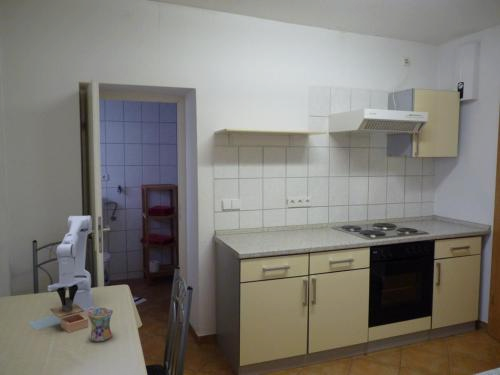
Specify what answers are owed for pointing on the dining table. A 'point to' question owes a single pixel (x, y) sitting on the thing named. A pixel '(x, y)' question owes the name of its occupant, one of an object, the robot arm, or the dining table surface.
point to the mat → (45, 322)
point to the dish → (74, 323)
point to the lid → (67, 309)
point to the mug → (100, 324)
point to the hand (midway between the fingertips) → (67, 304)
